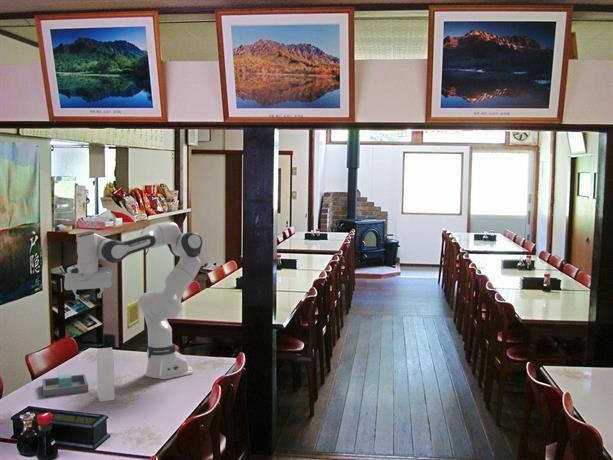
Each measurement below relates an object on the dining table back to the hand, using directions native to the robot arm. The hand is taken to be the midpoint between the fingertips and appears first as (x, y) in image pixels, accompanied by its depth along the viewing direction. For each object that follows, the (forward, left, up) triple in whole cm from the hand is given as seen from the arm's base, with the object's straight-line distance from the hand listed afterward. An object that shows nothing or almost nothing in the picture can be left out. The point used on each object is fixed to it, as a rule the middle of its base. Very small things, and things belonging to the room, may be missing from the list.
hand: (88, 298), depth 278 cm
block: (+11, +4, -39) cm, 40 cm away
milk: (-4, +24, -39) cm, 46 cm away
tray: (+11, +4, -39) cm, 41 cm away
